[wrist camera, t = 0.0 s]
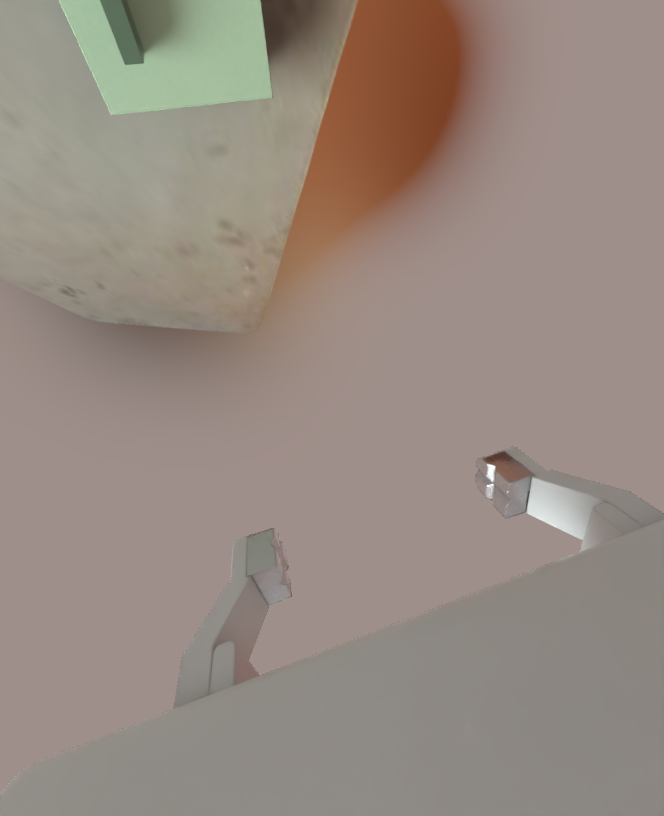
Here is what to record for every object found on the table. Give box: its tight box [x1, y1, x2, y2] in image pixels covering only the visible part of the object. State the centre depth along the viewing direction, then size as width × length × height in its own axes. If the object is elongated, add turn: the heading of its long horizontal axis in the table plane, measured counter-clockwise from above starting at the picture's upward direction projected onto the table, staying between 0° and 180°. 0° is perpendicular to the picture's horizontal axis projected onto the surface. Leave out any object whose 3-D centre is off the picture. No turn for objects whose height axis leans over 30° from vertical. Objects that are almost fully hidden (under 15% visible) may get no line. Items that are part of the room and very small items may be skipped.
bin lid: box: [59, 0, 273, 115], centre depth 27 cm, size 17×14×5 cm
